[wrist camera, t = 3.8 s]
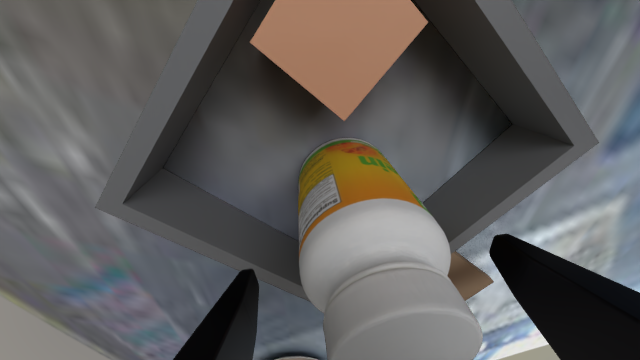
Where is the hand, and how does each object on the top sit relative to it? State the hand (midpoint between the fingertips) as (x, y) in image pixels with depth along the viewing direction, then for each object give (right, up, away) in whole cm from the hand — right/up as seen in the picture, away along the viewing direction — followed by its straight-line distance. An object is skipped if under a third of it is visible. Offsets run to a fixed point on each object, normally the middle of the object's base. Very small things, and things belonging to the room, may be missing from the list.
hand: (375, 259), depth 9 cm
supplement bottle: (-1, +3, +6) cm, 7 cm away
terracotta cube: (-2, +10, +2) cm, 10 cm away
